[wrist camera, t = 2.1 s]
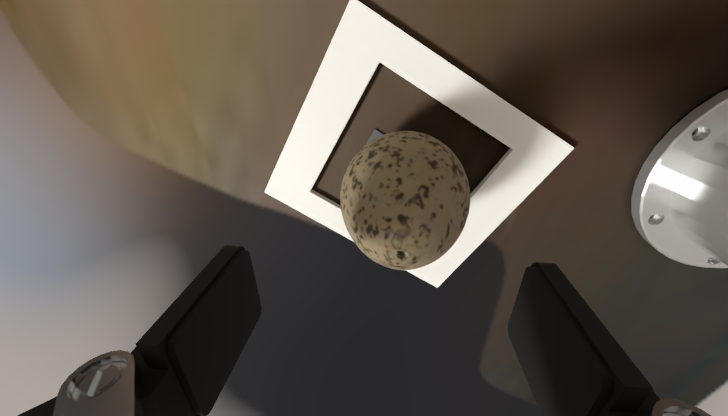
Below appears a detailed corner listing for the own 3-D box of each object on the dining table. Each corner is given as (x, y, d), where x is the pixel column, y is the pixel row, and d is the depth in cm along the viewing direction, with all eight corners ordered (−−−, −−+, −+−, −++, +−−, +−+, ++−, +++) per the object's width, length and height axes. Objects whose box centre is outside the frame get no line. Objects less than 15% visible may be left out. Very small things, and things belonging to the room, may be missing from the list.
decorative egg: (371, 224, 23) (351, 328, 14) (338, 137, 20) (287, 199, 11) (465, 201, 21) (508, 305, 12) (443, 102, 18) (479, 144, 9)
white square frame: (570, 145, 19) (574, 147, 18) (436, 283, 25) (437, 287, 24) (352, -3, 16) (351, -4, 16) (266, 189, 23) (264, 192, 22)
